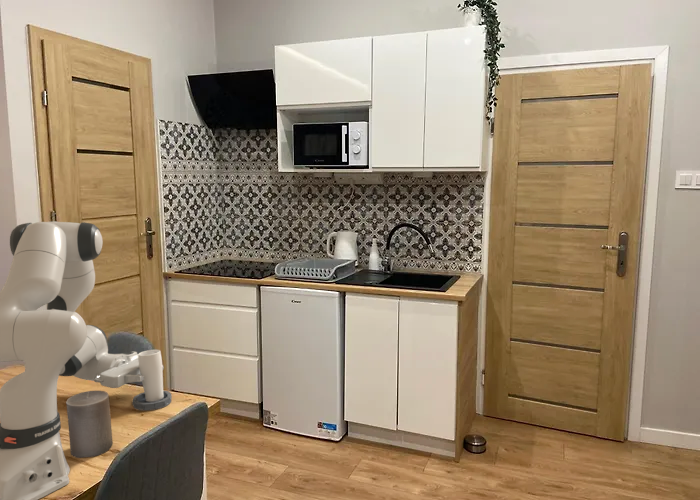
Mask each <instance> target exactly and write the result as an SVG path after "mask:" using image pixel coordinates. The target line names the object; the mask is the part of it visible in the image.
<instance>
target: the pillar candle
mask: <svg viewBox="0 0 700 500" xmlns="http://www.w3.org/2000/svg"><path fill="white" fill-rule="evenodd" d="M65 404H66V414H67V423H68V424H67V427H68V435H69V436H68V437H69V449H70V455H71V456H72V457H74V458H77V459H81V458H92V457H97V456H100V455H102V454H105V453H106V452H108V451H109V450H111V448H112V446H113V442H114V440H113V431H112V430H113V429H112V418H111V417H112V416H111V407H110V406H111V405H110V398H109V393H108V392H107V391H105V390H87V391H82V392H79V393H76V394H74V395H72V396H69V398H67V400H66V402H65Z"/></svg>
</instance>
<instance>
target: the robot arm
mask: <svg viewBox="0 0 700 500" xmlns="http://www.w3.org/2000/svg"><path fill="white" fill-rule="evenodd" d="M103 242H104V240H103V236H102V233H101V231H100V228H99V227H98V226H97V225H96V224H94V223H89V222H84V221H82V222H80V223H79V222H71V221H69V222H68V221H39V222H34V223H32V222H25V223H22V224H19V225H17V226H16V227H15V228H13V229H12V230H11V231H10V235H9V247H10V249H9V250H10V252H11V254H12V256H13V257H12V262H11V264H10V268H9V271H8V275H7V277H6V280H5V283H4V285H3V286H2V289H1V290H0V363H8V362H9V363H10V362H11V363H12V362H24V365H25V366H24V371H23V372H21V373H19V374H17V375H15V376H14V377H12V378H10V379H8V381H6V382H5V383H4V384H3V385H2V386H1V388H0V500H40V499H41V498H44V497H46V496H48V495H50V494H51V493H54V492H55V491H57V490H59V489H61V488H63V487H65V486H67V485H68V484H69V483H70V478H69V473H70V471H71V469H70V465H69V464H68V462H67V459H66V456H65V453H64V449H63V445H62V440H61V435H60V430H61V427H62V426H61V416H60V412H59V411H58V404H57V403H58V398H57V397H58V396H57V395H58V394H57V393H58V380H59V376H60V377H74V378H78V379H81V380H85V381H92V382H95V383H97V384H98V383H99V384H100V385H101V386H102V387H106V388H109V389H117V388H120V387H121V388H122V386H125V385H126V384H130V383H135V382H136V383H141V382H142V381H143V380H144V378H143V377H144V376H143V375H141V374H140V370H139V364H138V354H139V353H138V351H128V352H123V353H109V342H108V338H107V335H106V333H105V331H104V330H102V329H101V328H100V327H98V326H96V325H92V324H87V323H86V322H85V320H84V318H83V317H82V316H81V315H80V314H79V313H78V312H76V311H77V309H78V308H79V307H80V305H81V304H82V303H83V302H84V301H85V300H86V299H87V297H88V296H89V295H90V294H91V293H92V291H93V290H94V288H95V284H96V271H95V266H94V260H96V259H97V258H98V257H99V256H100V255H101V253H102V248H103V244H104V243H103ZM46 305H47V306H46ZM44 306H46V309H40V308H41V307H44ZM162 369H163V370H165V369H164V364H162Z"/></svg>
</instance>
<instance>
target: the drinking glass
mask: <svg viewBox="0 0 700 500" xmlns="http://www.w3.org/2000/svg"><path fill="white" fill-rule="evenodd" d="M137 354H138V364H139V370H140V374H141V375H143V376H144V377H143V378H144V380H143V381H141V382H142V387H143V392H144V393H145V399H146V401H147V402H157V401H160V400H162V399H163V398H164V393H163V390H164V377H163V376H164V373H163V370H164V369H162V365H163V360H162V359H163V357H162V352H161V349H148V350H144V351H141V352H139V353H137Z"/></svg>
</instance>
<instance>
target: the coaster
mask: <svg viewBox="0 0 700 500" xmlns="http://www.w3.org/2000/svg"><path fill="white" fill-rule="evenodd" d="M163 393H164V398H163V399H162V400H160V401H157V402H147V401H146V399H145V393H144V391H143V392H140V393H139V394H136V395H134V396H133V397H132V401H131V403H132V406H133V408H134V409H135V410H138V411H143V412H144V411H146V412H147V411H148V412H149V411H155V410H160V409H162V408H165V407H168V406H169V405H170V404H171V403H172V393H171V392H169V391H168V390H164V389H163Z"/></svg>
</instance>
